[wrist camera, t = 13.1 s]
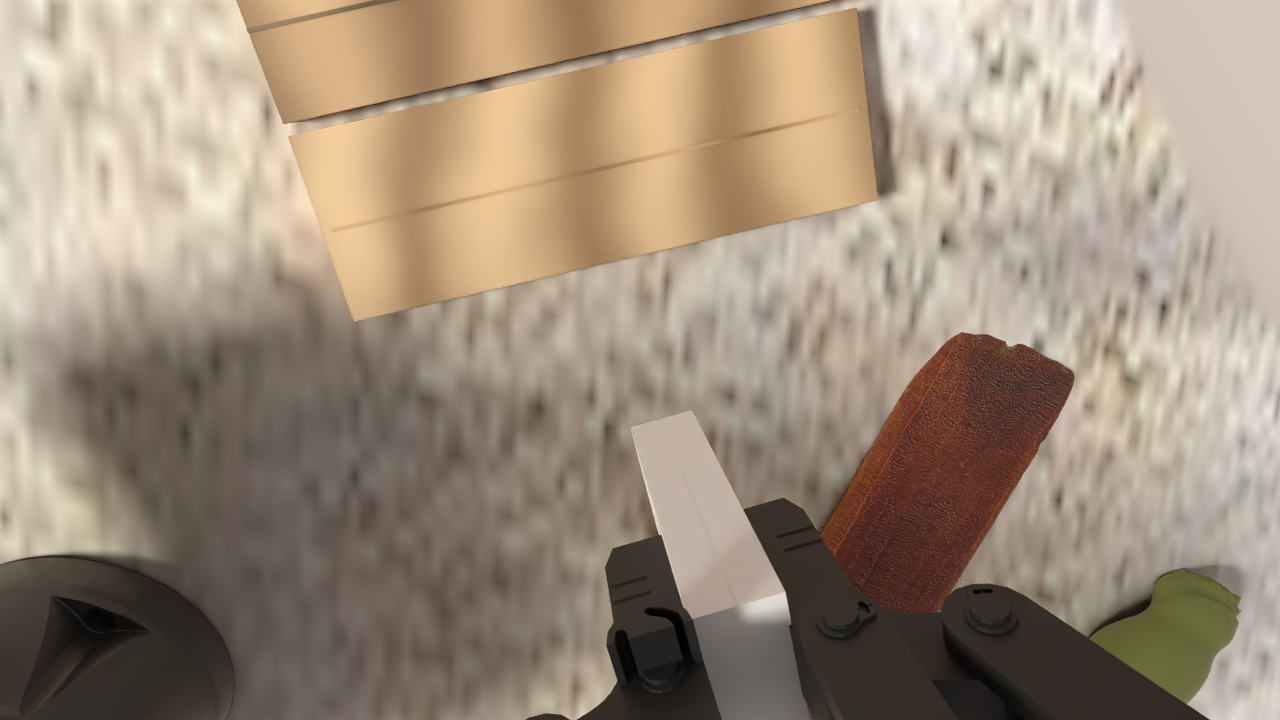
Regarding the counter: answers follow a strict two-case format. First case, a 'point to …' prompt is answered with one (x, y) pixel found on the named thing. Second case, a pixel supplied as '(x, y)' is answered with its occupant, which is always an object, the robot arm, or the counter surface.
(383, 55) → the laid boards
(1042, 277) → the counter surface
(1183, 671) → the pear
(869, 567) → the wooden tablet
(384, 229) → the plank
